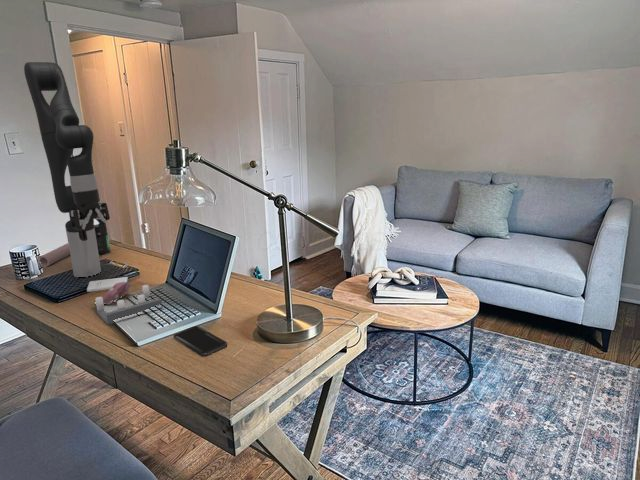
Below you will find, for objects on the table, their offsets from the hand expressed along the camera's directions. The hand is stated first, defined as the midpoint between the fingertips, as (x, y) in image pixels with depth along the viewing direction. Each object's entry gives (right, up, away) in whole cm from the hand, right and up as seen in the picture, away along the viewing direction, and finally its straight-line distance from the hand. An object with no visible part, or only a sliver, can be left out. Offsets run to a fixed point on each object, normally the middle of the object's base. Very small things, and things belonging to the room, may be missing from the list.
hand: (94, 237), depth 152 cm
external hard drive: (+1, -17, +8) cm, 19 cm away
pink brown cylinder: (-32, -9, +35) cm, 48 cm away
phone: (+43, -28, -31) cm, 60 cm away
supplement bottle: (-18, -7, +43) cm, 47 cm away
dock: (+17, -23, -13) cm, 31 cm away
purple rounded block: (+9, -21, -4) cm, 23 cm away
